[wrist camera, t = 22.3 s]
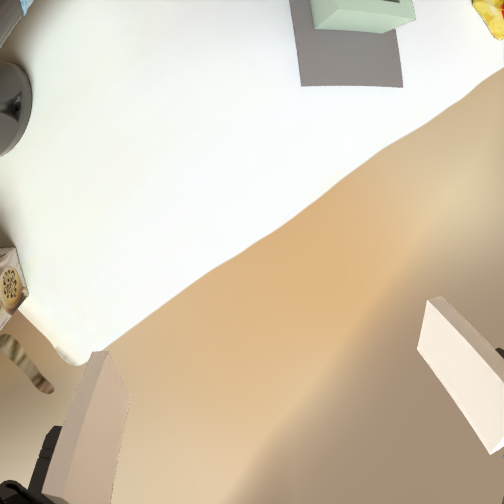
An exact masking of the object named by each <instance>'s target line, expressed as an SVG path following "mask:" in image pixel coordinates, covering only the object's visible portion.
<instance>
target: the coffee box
mask: <svg viewBox="0 0 504 504" xmlns="http://www.w3.org/2000/svg"><path fill="white" fill-rule="evenodd" d="M28 296H29V293H28V290H27V287H26V284H25V281H24V277H23V274H22V270H21V267H20V263H19V260H18V256H17V252H16V248H0V330H1V329H2V328H3V326H4V325H5V324H6V322H7V321H8V320H9V319H10V317H11V316H12V315H13V313H14V312H15V311H16V310H17V309H18V307H19V306H20V305H21V304H22V303H23V301H24V300H25V299H26V298H27V297H28Z"/></svg>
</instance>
